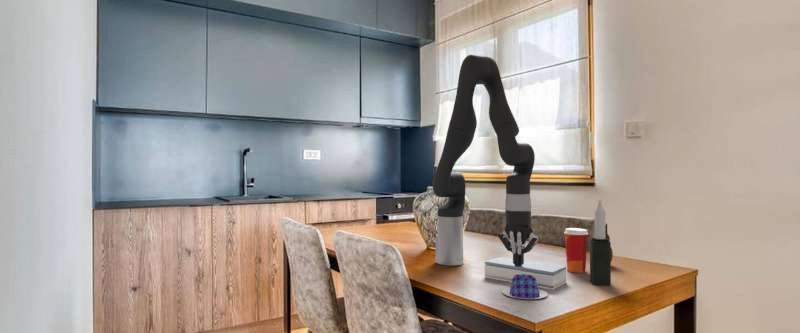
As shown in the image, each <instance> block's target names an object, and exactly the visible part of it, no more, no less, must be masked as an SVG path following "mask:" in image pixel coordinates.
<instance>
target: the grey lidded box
mask: <svg viewBox="0 0 800 333" xmlns="http://www.w3.org/2000/svg"><path fill="white" fill-rule="evenodd" d="M518 274H526V275H531V276H534V277H535V278H536V282H537V286H538V288H539V289H540V288H541V289H546V290H552V291H553V290H556V289H557V288H559V287H561V286H564V285H565V284H566V283H567V268H566V269H565V270H563V271H561V272H558V273H556V274H554V275H550V274H544V273H538V272H531V271H525V270H519V269H513V268H506V267H500V266H494V265H487V264H484V278H485V279H490V280H491V279H492V280H498V281H503V282H507V281H508V283H512V280H513V277H514V276H515V275H518Z"/></svg>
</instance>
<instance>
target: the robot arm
mask: <svg viewBox="0 0 800 333" xmlns="http://www.w3.org/2000/svg"><path fill="white" fill-rule="evenodd" d="M500 73H501V72H500V69H499V66H498V64H497V61H496V60H495V59H494V58H493V57H491V56H489V55H479V54H478V55H477V54H469V55H467V56H466V57H465V58H464V59H463V60H462V63H461V65H460V69H459V74H458V81H457V87H456V88H457V89H456V94H455V95H456V96H455V99H454V104H453V109H452V113H451V117H450V120H449V124H448V127H447V132H446V137H445V141H444V145H443V149H442V152H441V155H440V158H439V162H438V164H437V167H436V170H435V172H434V176H433V180H432V193H433V194H434V196H436V197H438V198H448V200H447V202H446V203H445V204H443V205H441V206H439V207H438V209H437V235H436V236H435V239H434V240H435V241H434V243H435V250H434V251H435V257H434V258H435V263H436V264H438V265H442V266H451V267H452V266H454V267H455V266H461V265H463V264H464V211H465V207H466V206H465V204H466V180H465V177H464V174H463V173H462V172H461V171H453V169H454V166H455V165H456V162H457V161H458V160H459V159H460V158H461V157H462V155H464V154H465V152H466V151H467V150H468V149H469V148H470V147H471V145H472V143H473V140H474V138H475V133H476V130H477V126H478V122H477V116H476V112H475V111H476V110H475V107H474V100H473V99H474V94H475V89H476V86H477V85H483V86H484V88H485V89H486V91H487V94H488V98H489V106H488V117H489V120H490V123H491V126H492V129H493V130H494V133H495V134H496V138H497V146H498V151H499V152H498V153H499V156H500V158H501V160H502V162H503V163H505V164H506V165H507V166H511V167H513V171H512V173H511V174H509V175H507V176H506V178H505V179H506V180H505V202H504V203H505V205H504V206H505V208H504V212H505V217H504V218H505V220H504V221H505V227H504V230H503V231H502V232H501V233H498V235H497V237H498V238H499V240H500V241H501V243H502V244H503V246H504V247H505V249H506V250H507V251H508V252H511V253H512V259H513V264H515V266H518V267H520V266H522V265H523V264H524V261H525V258H524V257H525V254H527V253H530V252H531V251H532V250H533V249H534V247H535V246H536V244H537V243H538V242H539V241H540V237H539V236H537V235H536V234H534V233H533V229H532V199H531V177H532V174H533V169H534V164H535V160H536V159H535V156H536V154H535V151H534V148H533V146H532V145H530V143H526V142H518V140H517V139H516V137H517V136H518V135H519V133H520V128H519V126H518V125H519V124H518V123H517V120H516V119H515V116H514V114H513V111H512V110H511V108H510V105H509V102H508V99H507V97H506V92H505V88H504V84H503V80H502V77H501V74H500ZM528 240H529V242H528V243H527V241H528Z"/></svg>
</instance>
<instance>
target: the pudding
mask: <svg viewBox="0 0 800 333" xmlns="http://www.w3.org/2000/svg"><path fill="white" fill-rule="evenodd" d="M501 291H502V294H504V295H506V296H508V297H510V298H514V299H517V298H518V297H519V298H518V299H521V300H524V299H528V300H538V299H540V300H541V299H544V298H546V297H548V292H547V291H545V290H542V289H540V288H539V287H538V286H537V282H536V278H535V277H534V276H531V275H526V274H518V275H515V276H514V277H513V280H512V282H511V285H510V287H505V288H503V289H502V290H501ZM509 291H510V292H509ZM508 293H510V294H508ZM510 295H512V296H510ZM514 296H515V297H514ZM516 297H517V298H516Z"/></svg>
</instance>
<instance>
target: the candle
mask: <svg viewBox="0 0 800 333" xmlns="http://www.w3.org/2000/svg"><path fill="white" fill-rule="evenodd" d="M605 226H606V210H605V209H604V208H603V205H602V200H601V199H599V200H598V204H597V206H596V208H595V210H594V237H591V239H589V282H591V285H594V286H606V287H608V286H611V285H612V282H611V280H612V278H611V276H612V275H611V274H612V270H611V269H612V267H611V266H612V265H611V264H612V261H611V248H612V247H611V240H610V241H609V239H608V238H605Z"/></svg>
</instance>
